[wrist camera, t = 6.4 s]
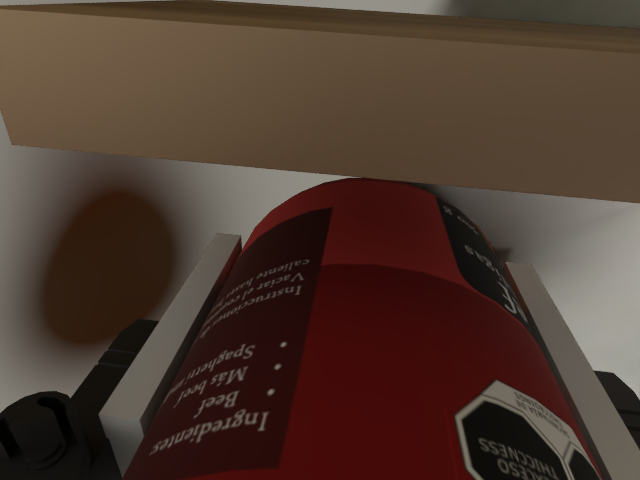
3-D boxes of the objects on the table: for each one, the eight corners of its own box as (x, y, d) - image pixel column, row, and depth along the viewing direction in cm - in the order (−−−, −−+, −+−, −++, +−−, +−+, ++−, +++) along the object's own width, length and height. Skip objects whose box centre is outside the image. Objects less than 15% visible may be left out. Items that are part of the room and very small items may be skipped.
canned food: (478, 369, 15) (656, 1011, 6) (260, 358, 16) (95, 888, 6) (518, 165, 11) (1336, 1136, 2) (227, 168, 12) (-297, 791, 3)
